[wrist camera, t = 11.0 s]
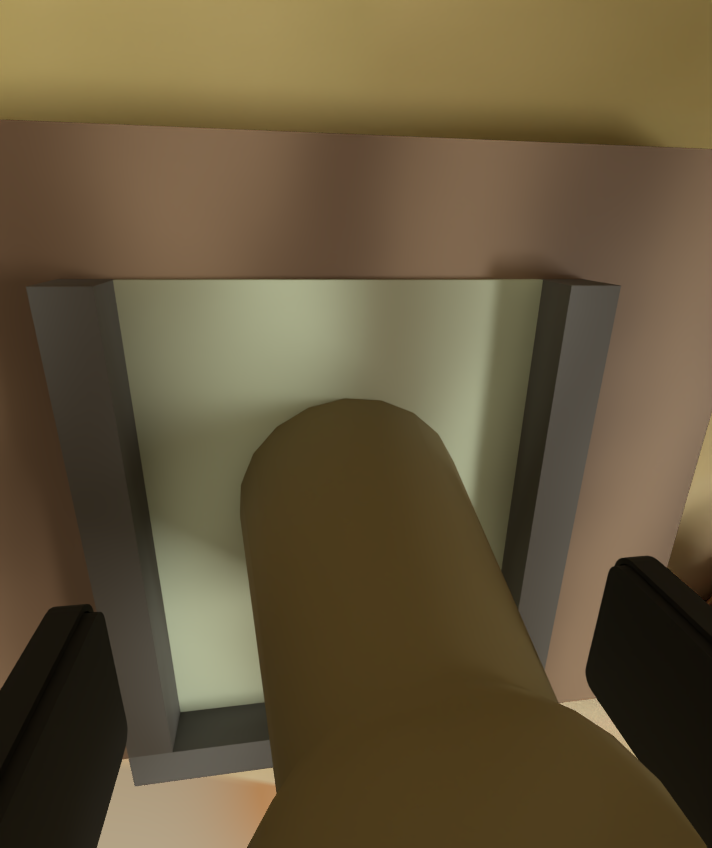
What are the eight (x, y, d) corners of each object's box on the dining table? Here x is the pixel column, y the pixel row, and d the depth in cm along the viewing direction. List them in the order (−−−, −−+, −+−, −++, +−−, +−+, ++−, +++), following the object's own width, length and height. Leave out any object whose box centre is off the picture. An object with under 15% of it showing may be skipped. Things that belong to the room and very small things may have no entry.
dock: (692, 165, 15) (850, 143, 11) (585, 634, 22) (658, 730, 17) (-135, 136, 12) (-354, 87, 8) (32, 694, 18) (-38, 829, 14)
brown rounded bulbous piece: (197, 453, 13) (-111, 1372, 3) (419, 361, 13) (1004, 906, 3) (294, 620, 15) (335, 1437, 5) (480, 543, 15) (910, 1200, 5)
